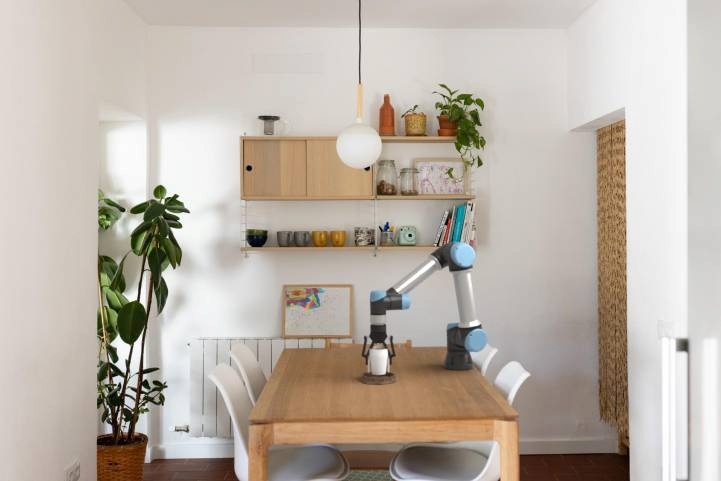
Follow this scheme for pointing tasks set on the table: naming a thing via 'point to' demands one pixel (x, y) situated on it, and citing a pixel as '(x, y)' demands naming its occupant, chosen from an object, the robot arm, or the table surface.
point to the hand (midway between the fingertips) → (378, 371)
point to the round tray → (378, 378)
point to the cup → (378, 360)
